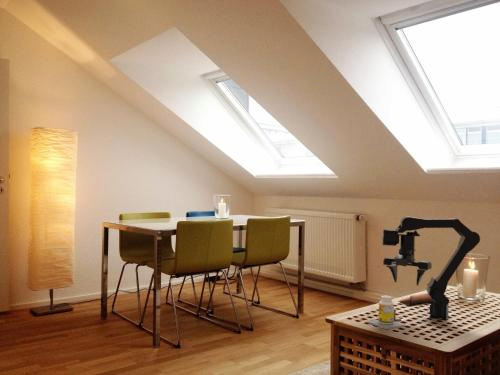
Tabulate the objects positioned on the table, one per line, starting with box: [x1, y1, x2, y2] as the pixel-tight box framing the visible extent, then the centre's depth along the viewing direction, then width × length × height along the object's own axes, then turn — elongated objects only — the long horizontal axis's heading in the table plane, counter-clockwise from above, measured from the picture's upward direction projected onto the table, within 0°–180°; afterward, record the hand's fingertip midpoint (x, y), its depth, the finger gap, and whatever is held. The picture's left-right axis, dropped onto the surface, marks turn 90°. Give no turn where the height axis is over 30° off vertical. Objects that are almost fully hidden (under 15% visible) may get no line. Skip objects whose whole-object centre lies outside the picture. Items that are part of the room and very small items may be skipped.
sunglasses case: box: [397, 293, 433, 307], centre depth 229 cm, size 18×7×7 cm
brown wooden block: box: [394, 308, 402, 322], centre depth 200 cm, size 12×4×4 cm, turn 6°
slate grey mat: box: [366, 319, 406, 330], centre depth 189 cm, size 10×10×1 cm
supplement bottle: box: [378, 295, 395, 325], centre depth 189 cm, size 6×6×10 cm
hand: (406, 283), depth 205 cm, fingers open, 9 cm apart
